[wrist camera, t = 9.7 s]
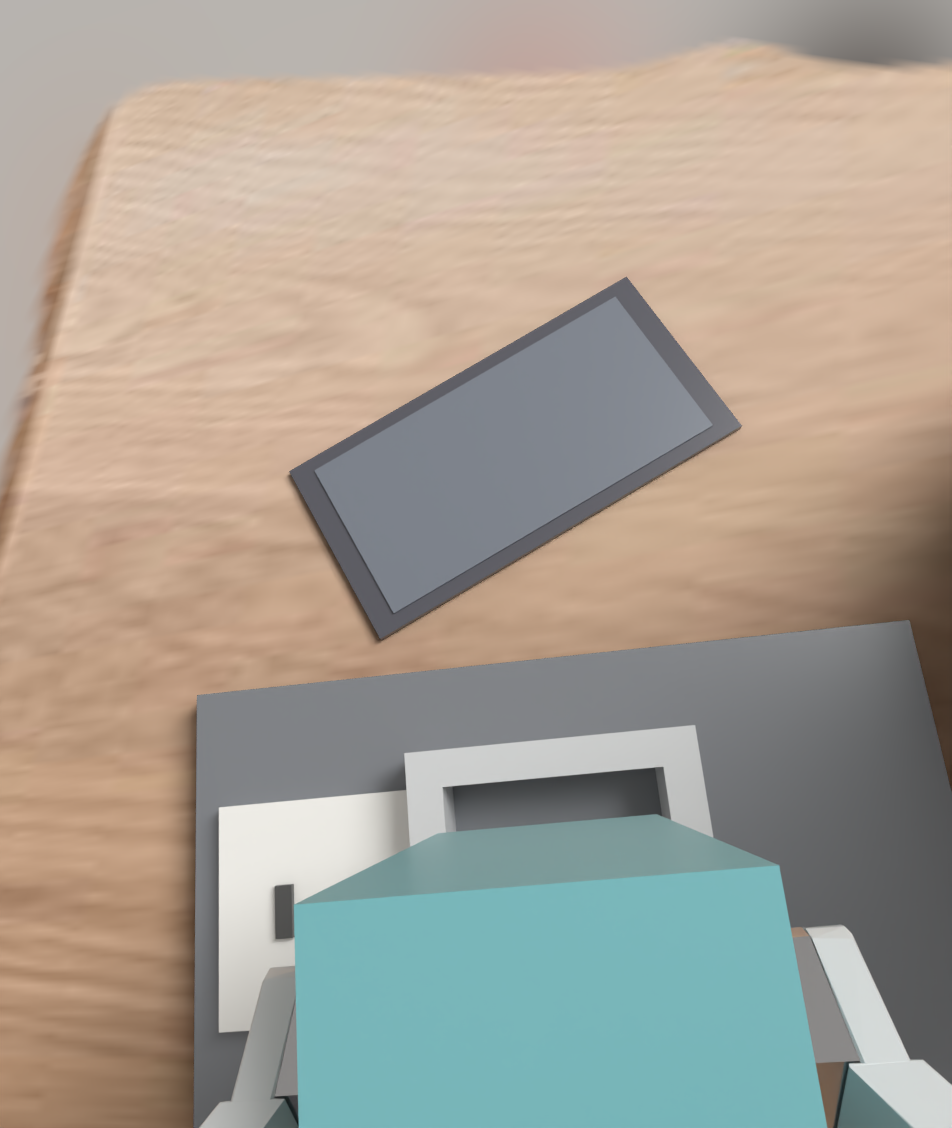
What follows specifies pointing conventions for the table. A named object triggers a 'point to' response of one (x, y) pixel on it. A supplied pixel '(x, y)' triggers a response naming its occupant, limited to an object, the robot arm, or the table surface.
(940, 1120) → the robot arm
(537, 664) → the grey socket base board
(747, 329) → the table surface
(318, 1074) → the teal box with slot
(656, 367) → the phone
